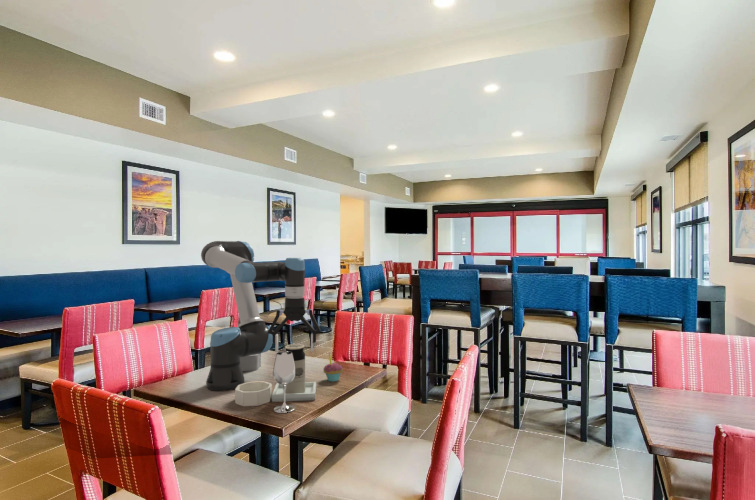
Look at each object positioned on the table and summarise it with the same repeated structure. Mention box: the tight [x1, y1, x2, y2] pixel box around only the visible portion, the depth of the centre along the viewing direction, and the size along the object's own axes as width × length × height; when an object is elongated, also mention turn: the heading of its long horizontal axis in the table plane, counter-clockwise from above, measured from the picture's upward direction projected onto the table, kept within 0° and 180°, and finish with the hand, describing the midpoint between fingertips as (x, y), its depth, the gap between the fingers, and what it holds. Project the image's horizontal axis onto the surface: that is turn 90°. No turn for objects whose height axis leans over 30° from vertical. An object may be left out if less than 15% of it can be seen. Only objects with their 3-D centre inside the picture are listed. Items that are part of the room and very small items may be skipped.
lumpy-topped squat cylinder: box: [240, 353, 262, 372], centre depth 200 cm, size 10×13×9 cm
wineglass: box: [272, 350, 296, 414], centre depth 148 cm, size 8×8×20 cm
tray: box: [271, 381, 317, 403], centre depth 163 cm, size 16×14×2 cm
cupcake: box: [323, 352, 344, 382], centre depth 181 cm, size 9×8×12 cm
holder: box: [234, 380, 273, 407], centre depth 157 cm, size 13×13×5 cm
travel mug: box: [284, 343, 306, 394], centre depth 163 cm, size 8×8×18 cm
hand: (294, 351), depth 163 cm, fingers open, 13 cm apart
